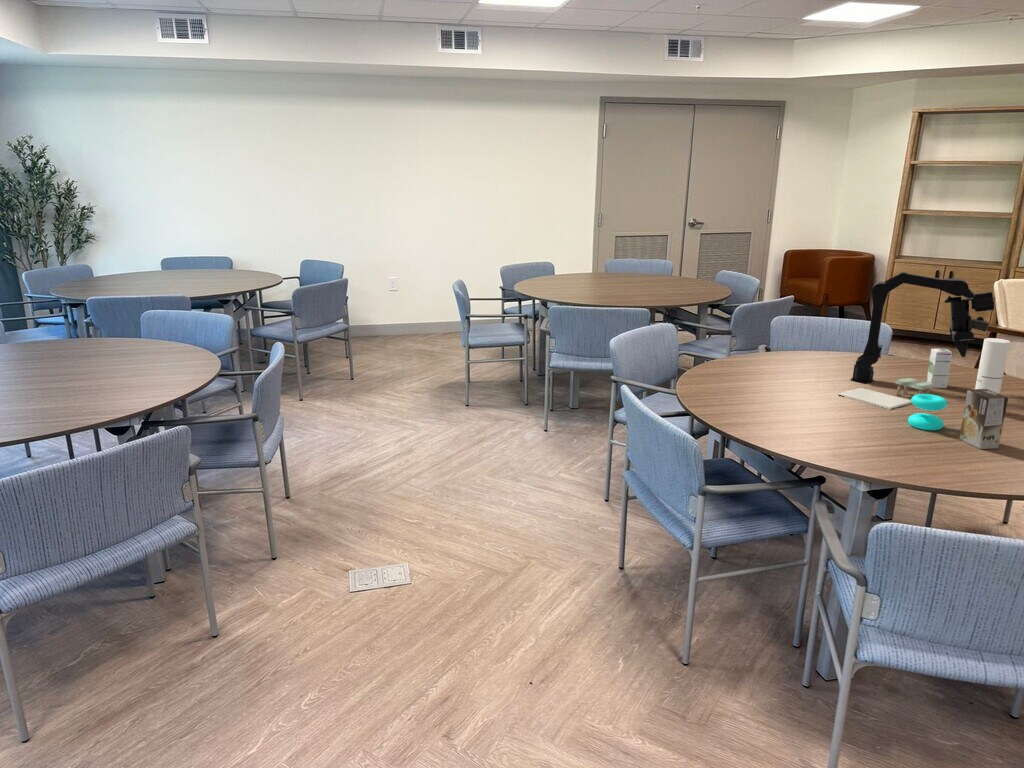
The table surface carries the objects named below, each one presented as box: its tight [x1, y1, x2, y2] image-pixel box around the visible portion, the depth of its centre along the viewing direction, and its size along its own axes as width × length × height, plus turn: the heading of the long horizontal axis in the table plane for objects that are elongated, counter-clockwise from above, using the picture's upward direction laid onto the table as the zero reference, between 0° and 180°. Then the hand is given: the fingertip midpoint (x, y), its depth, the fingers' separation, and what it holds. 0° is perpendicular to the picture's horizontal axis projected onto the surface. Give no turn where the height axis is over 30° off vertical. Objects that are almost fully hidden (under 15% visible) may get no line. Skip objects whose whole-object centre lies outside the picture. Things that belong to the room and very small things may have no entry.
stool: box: [895, 376, 933, 397], centre depth 249 cm, size 10×6×6 cm, turn 31°
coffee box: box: [959, 388, 1009, 450], centre depth 203 cm, size 9×6×16 cm
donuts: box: [907, 393, 948, 431], centre depth 218 cm, size 10×10×10 cm
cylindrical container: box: [974, 337, 1011, 394], centre depth 231 cm, size 7×7×25 cm
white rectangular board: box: [837, 387, 913, 410], centre depth 248 cm, size 20×14×1 cm
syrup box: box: [925, 348, 953, 389], centre depth 261 cm, size 6×6×14 cm
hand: (962, 354), depth 252 cm, fingers open, 9 cm apart
